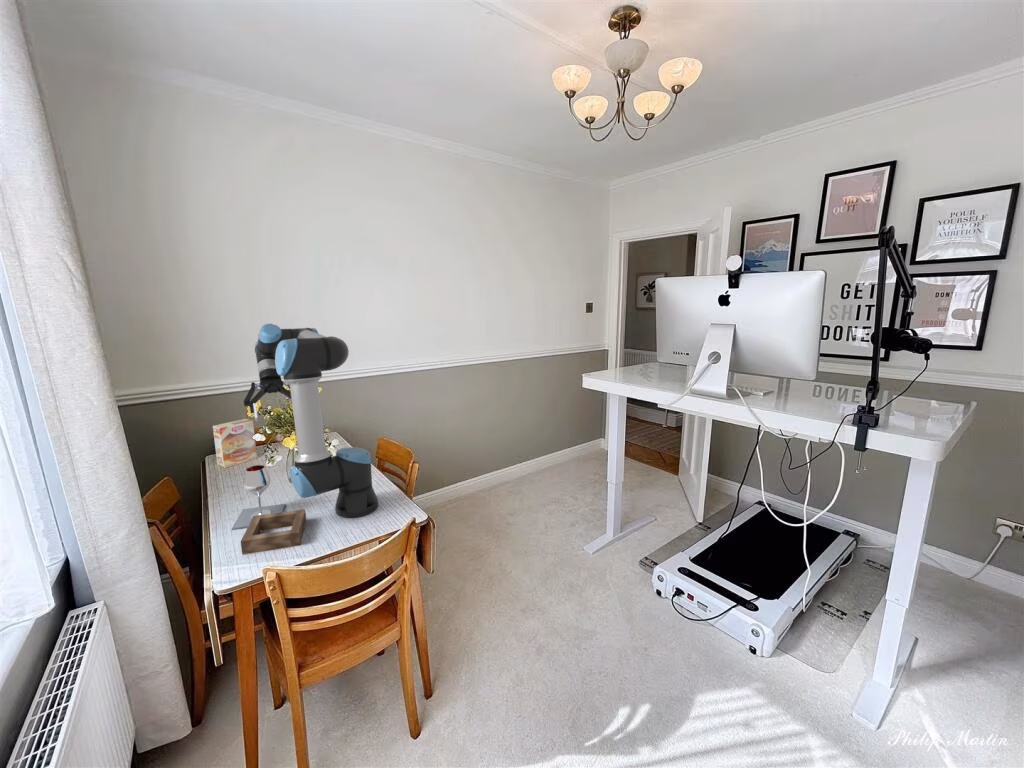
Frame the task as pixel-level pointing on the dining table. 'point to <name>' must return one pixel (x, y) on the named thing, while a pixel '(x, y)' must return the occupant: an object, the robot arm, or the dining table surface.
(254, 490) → the wineglass
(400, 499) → the dining table surface
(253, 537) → the frame
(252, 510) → the mat
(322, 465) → the robot arm
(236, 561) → the dining table surface
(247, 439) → the coffeecake box
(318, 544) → the dining table surface
